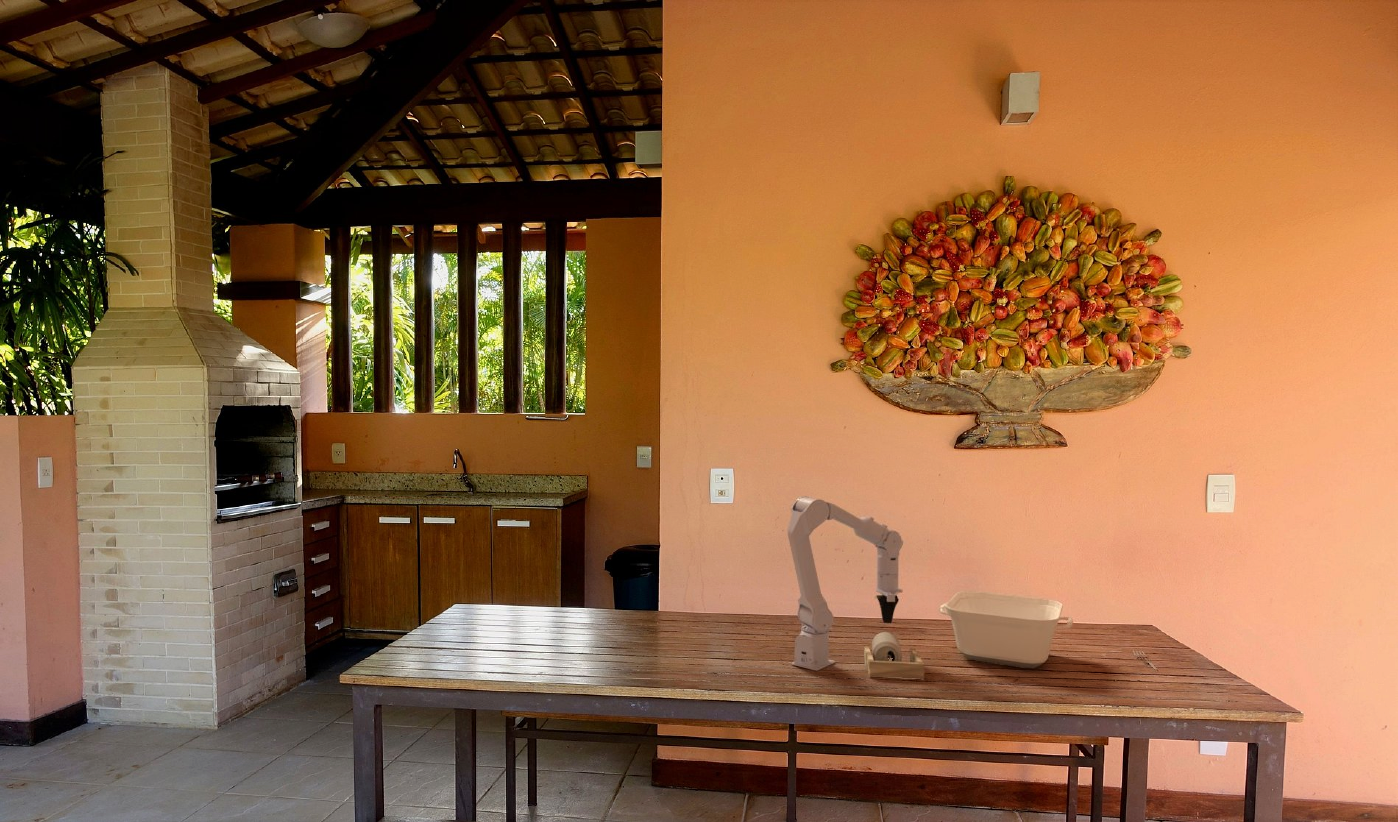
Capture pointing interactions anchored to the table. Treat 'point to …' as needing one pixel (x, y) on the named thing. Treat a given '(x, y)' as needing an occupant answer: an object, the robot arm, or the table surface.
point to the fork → (1145, 655)
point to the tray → (894, 666)
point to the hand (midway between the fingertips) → (887, 622)
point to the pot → (1004, 627)
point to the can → (886, 647)
